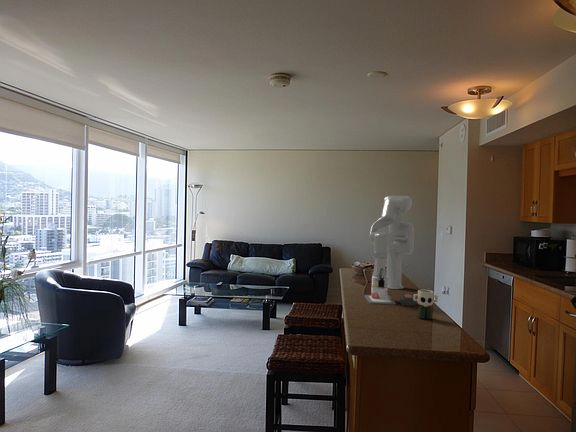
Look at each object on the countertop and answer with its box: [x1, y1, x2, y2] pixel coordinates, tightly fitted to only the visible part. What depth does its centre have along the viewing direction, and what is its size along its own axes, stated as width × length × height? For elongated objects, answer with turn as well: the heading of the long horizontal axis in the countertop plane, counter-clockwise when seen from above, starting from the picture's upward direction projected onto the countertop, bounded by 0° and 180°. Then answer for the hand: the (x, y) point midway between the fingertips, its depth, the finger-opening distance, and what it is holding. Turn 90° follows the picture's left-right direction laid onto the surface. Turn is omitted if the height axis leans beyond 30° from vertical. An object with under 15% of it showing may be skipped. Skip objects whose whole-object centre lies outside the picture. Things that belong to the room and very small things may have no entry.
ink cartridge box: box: [370, 270, 389, 299], centre depth 236 cm, size 9×5×15 cm, turn 86°
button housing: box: [399, 295, 417, 307], centre depth 227 cm, size 7×7×4 cm
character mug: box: [413, 289, 439, 320], centre depth 198 cm, size 11×7×13 cm, turn 81°
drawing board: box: [364, 294, 397, 305], centre depth 234 cm, size 18×14×1 cm
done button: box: [403, 293, 412, 298], centre depth 227 cm, size 4×4×2 cm
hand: (379, 285), depth 236 cm, fingers open, 9 cm apart
